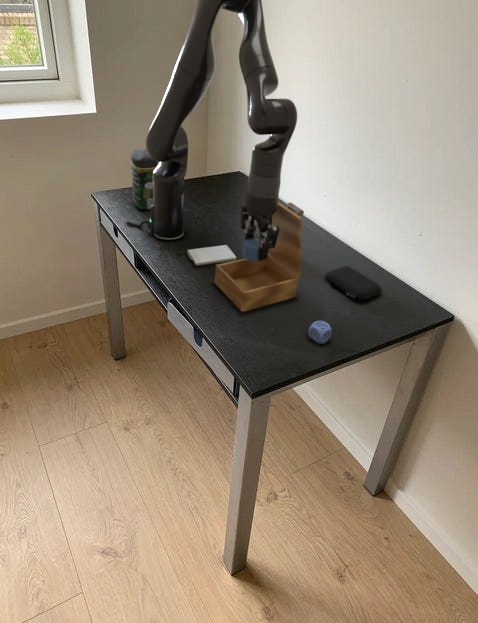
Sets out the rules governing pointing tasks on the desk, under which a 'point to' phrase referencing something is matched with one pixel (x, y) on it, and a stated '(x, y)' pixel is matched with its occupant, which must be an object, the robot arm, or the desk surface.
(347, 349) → the desk surface
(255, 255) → the blue lid
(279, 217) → the cover
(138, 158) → the coffee jar
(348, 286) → the carrying case
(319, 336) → the decorative dice
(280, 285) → the chest
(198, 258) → the hard drive
